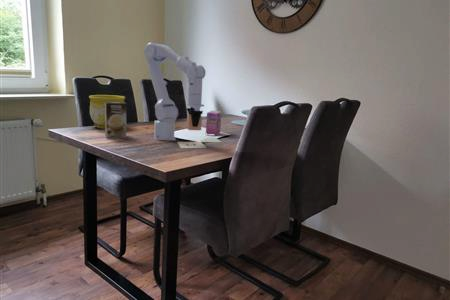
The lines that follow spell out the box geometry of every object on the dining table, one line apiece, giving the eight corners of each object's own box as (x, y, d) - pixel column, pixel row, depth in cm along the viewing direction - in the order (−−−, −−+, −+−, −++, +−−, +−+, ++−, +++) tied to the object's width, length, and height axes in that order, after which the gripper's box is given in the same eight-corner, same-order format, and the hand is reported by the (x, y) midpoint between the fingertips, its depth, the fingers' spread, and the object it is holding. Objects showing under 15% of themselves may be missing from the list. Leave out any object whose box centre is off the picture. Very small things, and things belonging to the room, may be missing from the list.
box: (216, 136, 175) (217, 113, 172) (205, 135, 176) (206, 112, 173) (220, 132, 185) (221, 111, 182) (210, 132, 186) (211, 110, 183)
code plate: (180, 148, 142) (180, 147, 142) (177, 142, 154) (177, 141, 154) (206, 148, 145) (206, 147, 145) (201, 142, 157) (201, 141, 157)
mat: (202, 143, 156) (202, 141, 156) (198, 139, 165) (198, 138, 165) (221, 142, 159) (221, 141, 159) (216, 139, 167) (216, 138, 167)
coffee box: (106, 138, 155) (105, 102, 151) (104, 135, 161) (104, 101, 157) (126, 137, 159) (126, 103, 155) (125, 135, 164) (124, 101, 161)
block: (188, 130, 146) (189, 116, 144) (186, 127, 151) (187, 114, 150) (201, 130, 147) (201, 116, 146) (198, 128, 152) (199, 114, 151)
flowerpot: (131, 128, 183) (131, 97, 179) (99, 131, 170) (98, 98, 166) (115, 123, 195) (115, 94, 191) (84, 125, 182) (83, 95, 179)
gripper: (207, 95, 140) (206, 128, 143) (201, 93, 153) (199, 122, 157) (190, 95, 138) (189, 128, 141) (185, 92, 152) (184, 122, 155)
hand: (193, 125), depth 149 cm, fingers closed on block, 5 cm apart
